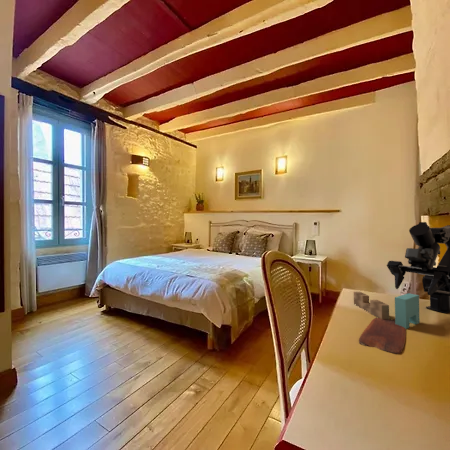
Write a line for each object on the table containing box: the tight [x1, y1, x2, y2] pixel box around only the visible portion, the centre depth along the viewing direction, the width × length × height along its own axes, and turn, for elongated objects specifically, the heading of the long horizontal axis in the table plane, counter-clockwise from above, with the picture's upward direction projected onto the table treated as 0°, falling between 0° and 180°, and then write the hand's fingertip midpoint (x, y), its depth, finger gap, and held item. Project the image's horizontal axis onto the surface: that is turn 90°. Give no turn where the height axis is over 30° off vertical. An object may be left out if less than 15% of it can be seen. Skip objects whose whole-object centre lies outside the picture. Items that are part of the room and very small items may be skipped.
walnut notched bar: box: [353, 291, 390, 319], centre depth 93 cm, size 18×2×5 cm, turn 1°
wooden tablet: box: [358, 317, 407, 355], centre depth 75 cm, size 27×10×2 cm, turn 140°
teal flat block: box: [394, 292, 421, 330], centre depth 81 cm, size 9×3×9 cm, turn 121°
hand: (411, 291), depth 82 cm, fingers open, 9 cm apart
